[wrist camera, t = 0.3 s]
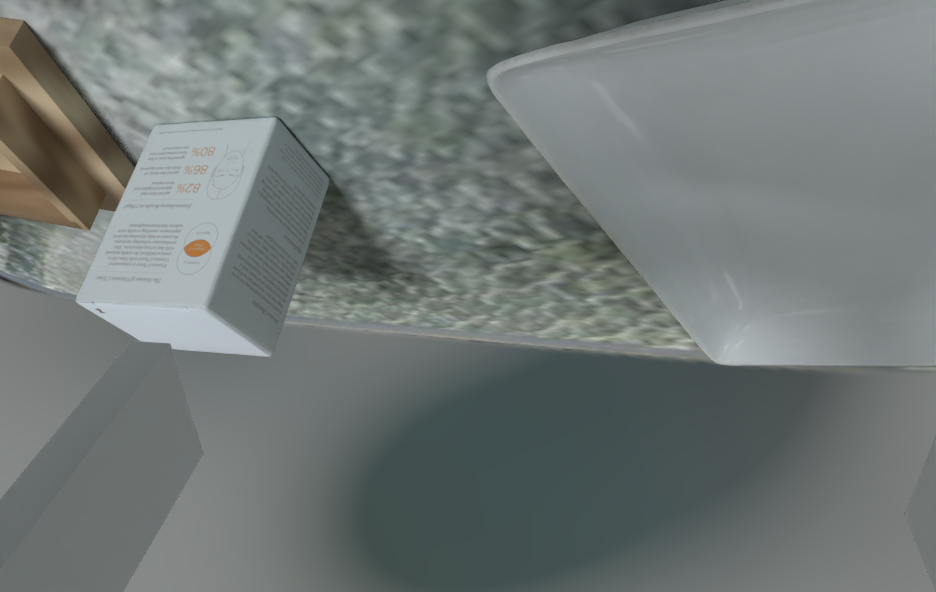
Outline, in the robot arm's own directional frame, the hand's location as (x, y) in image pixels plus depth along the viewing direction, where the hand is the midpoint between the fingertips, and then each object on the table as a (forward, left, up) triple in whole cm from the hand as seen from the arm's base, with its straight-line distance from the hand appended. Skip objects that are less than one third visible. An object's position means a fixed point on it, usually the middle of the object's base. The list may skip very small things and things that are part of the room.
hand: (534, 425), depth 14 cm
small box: (+21, -18, -17) cm, 32 cm away
